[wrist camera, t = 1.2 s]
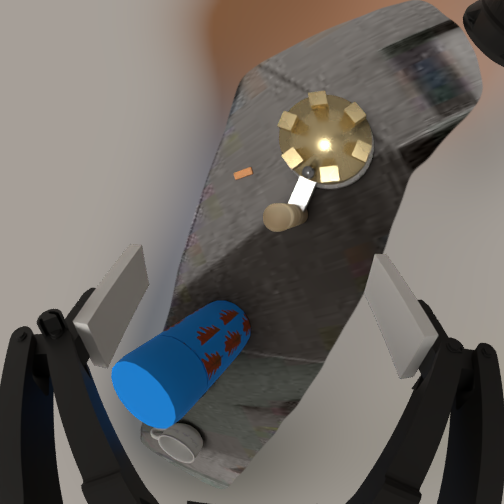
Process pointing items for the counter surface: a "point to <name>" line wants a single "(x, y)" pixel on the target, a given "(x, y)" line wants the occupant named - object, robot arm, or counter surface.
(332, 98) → the studded brass turntable
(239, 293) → the counter surface
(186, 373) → the thermos
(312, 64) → the counter surface
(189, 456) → the teacup
